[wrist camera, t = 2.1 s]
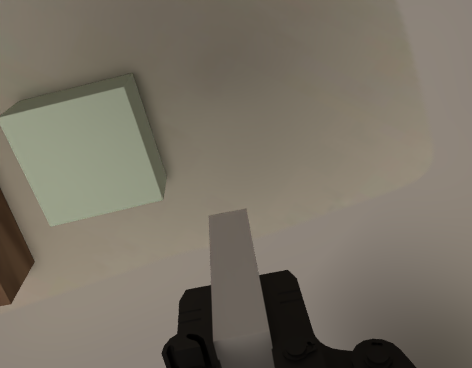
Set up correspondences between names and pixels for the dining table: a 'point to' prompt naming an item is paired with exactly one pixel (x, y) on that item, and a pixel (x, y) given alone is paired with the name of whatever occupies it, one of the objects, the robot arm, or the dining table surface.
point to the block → (86, 150)
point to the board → (11, 255)
